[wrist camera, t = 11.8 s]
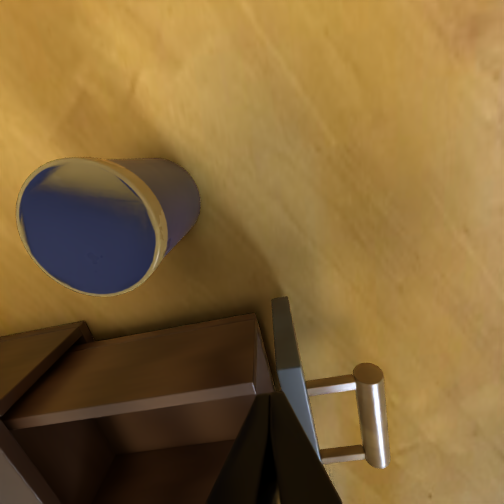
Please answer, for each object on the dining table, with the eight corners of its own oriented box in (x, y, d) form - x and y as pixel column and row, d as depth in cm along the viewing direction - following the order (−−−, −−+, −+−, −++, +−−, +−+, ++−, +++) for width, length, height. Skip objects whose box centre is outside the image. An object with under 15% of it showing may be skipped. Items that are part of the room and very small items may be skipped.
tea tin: (187, 146, 17) (128, 140, 9) (212, 231, 19) (178, 283, 11) (105, 167, 17) (-14, 177, 10) (136, 247, 19) (56, 307, 12)
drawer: (350, 283, 19) (397, 351, 12) (366, 421, 23) (407, 524, 17) (53, 338, 21) (-37, 419, 15) (119, 454, 25) (72, 555, 19)
